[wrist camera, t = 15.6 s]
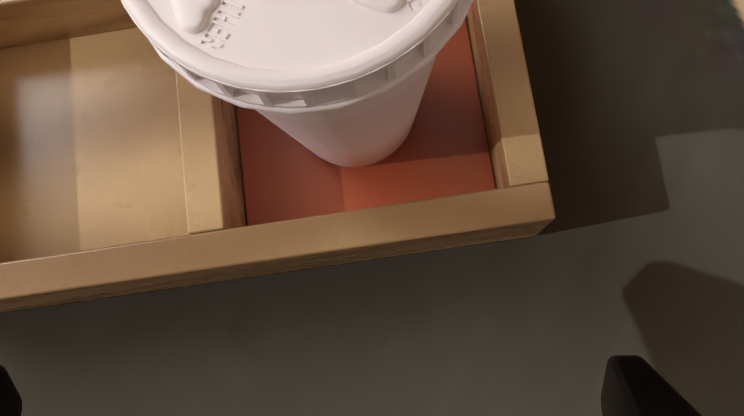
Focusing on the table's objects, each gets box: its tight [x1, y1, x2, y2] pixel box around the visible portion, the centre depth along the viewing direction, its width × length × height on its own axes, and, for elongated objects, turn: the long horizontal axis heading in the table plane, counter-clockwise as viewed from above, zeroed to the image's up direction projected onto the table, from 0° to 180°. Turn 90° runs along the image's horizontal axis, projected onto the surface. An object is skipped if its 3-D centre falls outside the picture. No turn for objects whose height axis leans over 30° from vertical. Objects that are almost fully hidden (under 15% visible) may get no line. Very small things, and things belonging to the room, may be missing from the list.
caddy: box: [0, 0, 555, 313], centre depth 19 cm, size 10×18×3 cm, turn 98°
